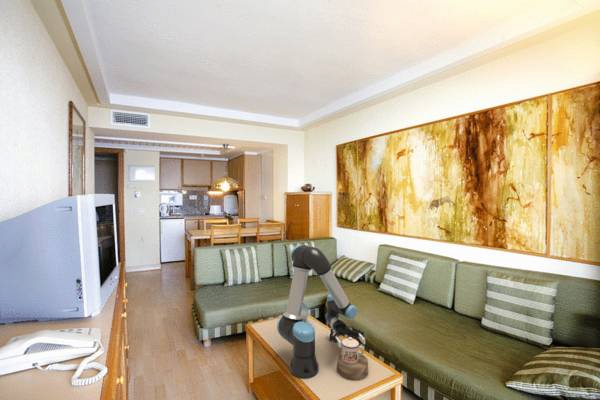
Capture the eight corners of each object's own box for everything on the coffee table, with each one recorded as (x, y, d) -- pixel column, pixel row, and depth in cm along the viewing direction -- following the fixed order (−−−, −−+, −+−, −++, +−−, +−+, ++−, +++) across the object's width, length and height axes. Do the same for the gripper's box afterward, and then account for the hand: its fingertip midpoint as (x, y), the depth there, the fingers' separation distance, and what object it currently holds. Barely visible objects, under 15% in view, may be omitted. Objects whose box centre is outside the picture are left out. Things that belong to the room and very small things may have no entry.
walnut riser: (359, 385, 140) (359, 372, 140) (331, 373, 150) (331, 361, 150) (373, 369, 153) (372, 358, 153) (346, 359, 163) (346, 348, 163)
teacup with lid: (342, 364, 147) (342, 341, 147) (340, 354, 156) (340, 333, 156) (365, 365, 147) (366, 342, 147) (362, 355, 156) (362, 333, 156)
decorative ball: (312, 322, 212) (312, 301, 212) (299, 329, 201) (299, 307, 201) (297, 316, 222) (297, 297, 222) (283, 323, 211) (283, 303, 210)
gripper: (358, 329, 175) (374, 347, 154) (318, 334, 169) (329, 353, 149) (357, 317, 175) (374, 333, 154) (318, 322, 169) (329, 339, 149)
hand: (352, 343), depth 151 cm, fingers open, 13 cm apart
